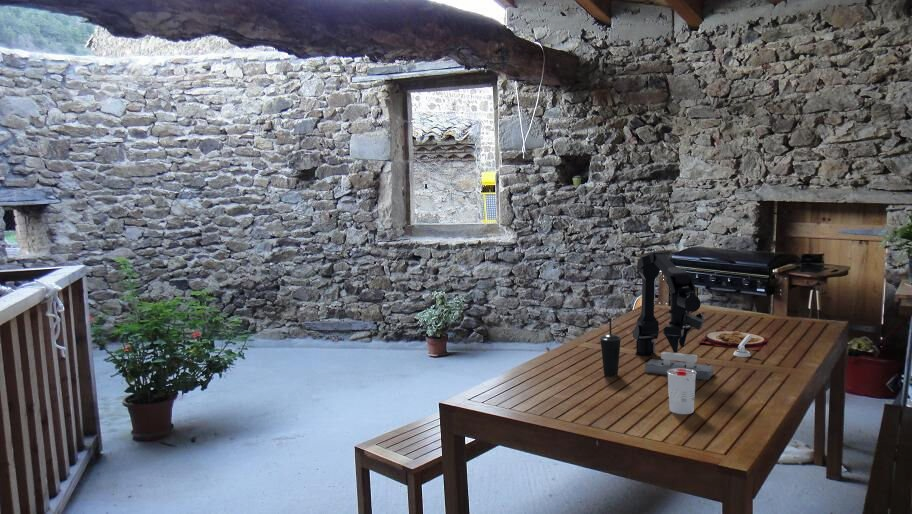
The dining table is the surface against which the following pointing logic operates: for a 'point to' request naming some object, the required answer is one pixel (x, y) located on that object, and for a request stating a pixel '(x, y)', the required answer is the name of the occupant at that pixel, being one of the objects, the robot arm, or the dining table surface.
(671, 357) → the clip
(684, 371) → the white cylindrical container
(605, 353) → the drinking cup
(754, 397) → the dining table surface
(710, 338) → the plate with food
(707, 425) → the dining table surface
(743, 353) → the hook
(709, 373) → the rail
